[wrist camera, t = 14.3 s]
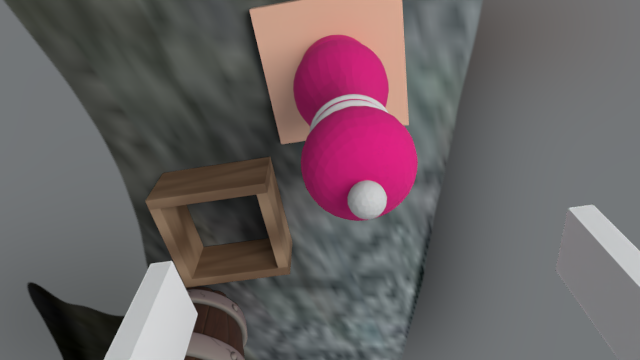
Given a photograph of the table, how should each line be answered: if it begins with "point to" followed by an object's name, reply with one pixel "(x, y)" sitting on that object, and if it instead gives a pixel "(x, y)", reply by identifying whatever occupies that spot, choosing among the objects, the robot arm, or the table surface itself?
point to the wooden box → (228, 258)
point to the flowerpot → (216, 327)
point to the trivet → (313, 24)
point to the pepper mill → (351, 131)
